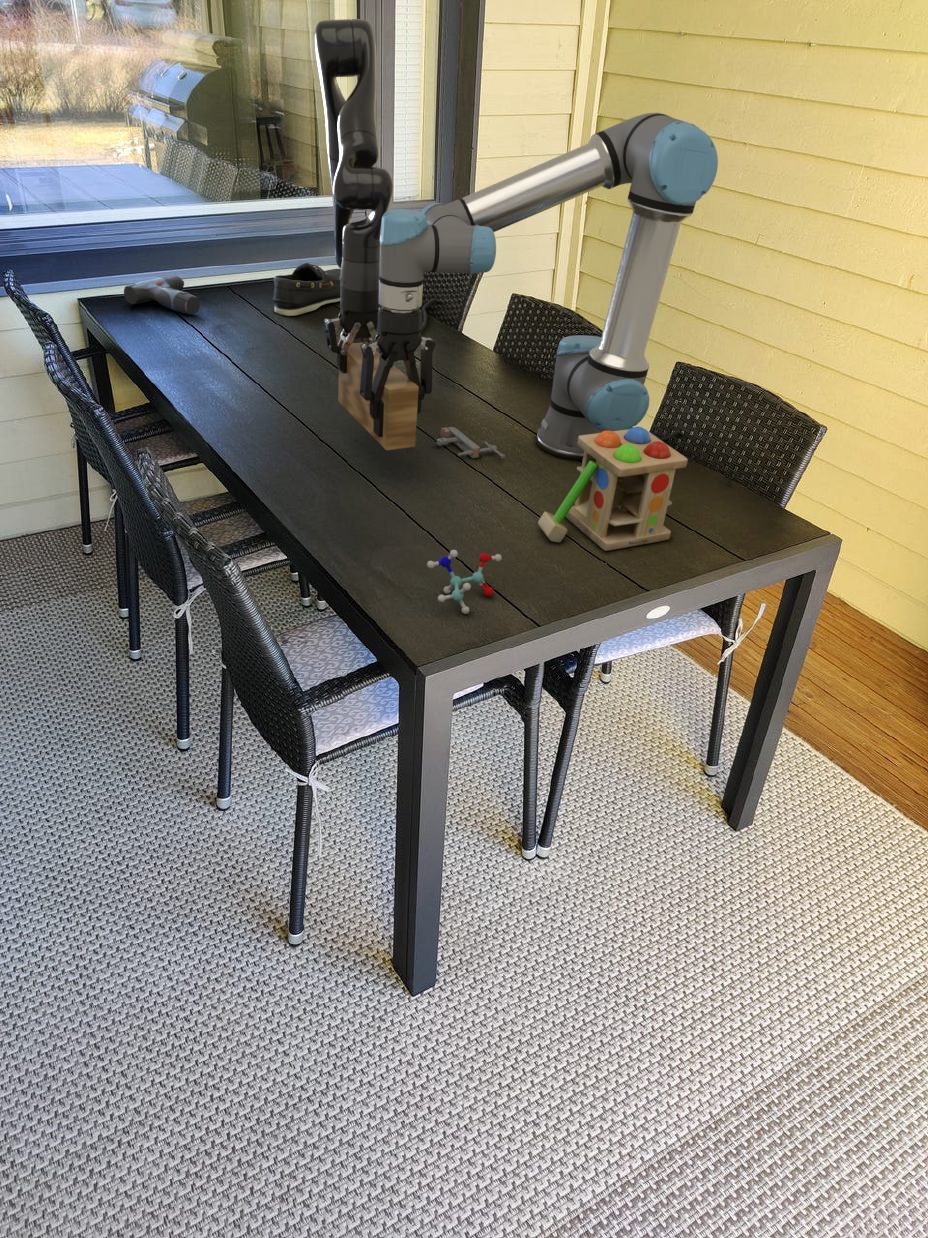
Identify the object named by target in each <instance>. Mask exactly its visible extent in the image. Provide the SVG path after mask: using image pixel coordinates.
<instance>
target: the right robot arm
mask: <svg viewBox="0 0 928 1238" xmlns="http://www.w3.org/2000/svg"><path fill="white" fill-rule="evenodd" d="M718 166H719V157H718V151H717V148H716V146H715V144H714V141H713V139H712V138H711V137H710V136H709V134H708V133H706V131H704V130H702V129H701V128H700V127H699V126H697V125H695V124H694V123H691V122H688V121H684V120H681V119H678V118H675V117H672V116H671V115H668V114H665V113H662V112H648V113H644V114H640V115H636V116H633V117H631V118H629V119H626V120H624V121H621V122H619V123H617V124H615V125H612V126H610V127H607V128H604V129H602V130H601V131H598V132H596V133H594V134H592V135H591V136H590V138H589V141H588V142H587V143H585V144H583V145H581V146H579V147H577V148H574V149H572V150H570V151H568V152H565V153H563V154H561V155H558V156H556V157H553V158H551V159H549V160H547V161H544V162H542V163H540V164H538V165H535V166H533V167H531V168H528V169H526V170H523V171H521V172H519V173H516V174H513V175H512V176H509V177H507V178H505V179H503V180H501V181H498V182H496V183H493V184H491V185H489V186H487V187H485V188H481V189H480V190H477V191H474V192H473V193H470V194H469V195H468V194H467V195H466V196H464V197H461V198H459V199H456V200H453V201H451V202H449V203H446V204H445V203H441V202H433V203H430V204H428V205H426V206H425V207H424V208H422V210H421V211H419V210H417V209H408V208H394V209H393V208H392V209H388V211H387V212H385V214H384V215H383V217H382V224H381V235H380V239H379V240H380V274H379V294H378V303H379V304H380V307H379V308H378V333H377V336H376V338H375V340H374V341H372V342H369V343H365V342H362V343H361V345H360V347H361V351H362V354H363V358H362V371H361V383H360V395H361V396H362V397H363V398H364V399H365V400H366V401H370V412H369V414H370V416H371V417H372V418H373V419H374V426H373V432H374V433H375V434H376V435H377V436H378V437H383V417H384V403H383V402H382V401H381V400H380V399H381V396H382V393H383V390H384V386H385V384H386V381H387V378H388V375H389V372H390V369H391V368H392V366H393V365H394V363H395V362H396V363H397V362H399V361H402V362H403V363H404V366H405V371H406V374H407V375H406V376H407V377H408V378H409V379H410V380H411V381H412V382H413V383H415V384H416V385H417V386H419V390H418V407H417V415H419V414H421V411H422V401H423V400H424V399H425V398H426V397H425V395H430V394H432V391H433V353H434V350H435V347H436V342H435V340H434V339H432V338H431V337H429V336H425V337H424V336H422V334H421V333H420V329H421V326H422V314H423V312H422V309H421V307H423V306H422V305H423V294H424V293H423V291H424V276H425V273H441V274H442V273H443V274H444V273H446V274H470V275H474V274H484V273H489V272H490V271H491V270H492V269H493V267H494V265H495V261H496V256H497V239H496V235H495V233H496V232H498V231H500V230H503V229H505V228H508V227H509V226H512V225H515V224H517V223H519V222H521V221H523V220H526V219H529V218H531V217H534V216H535V215H538V214H540V213H543V212H544V211H548V210H550V209H552V208H554V207H556V206H559V205H561V204H563V203H566V202H568V201H570V200H573V199H575V198H577V197H580V196H582V195H584V194H587V193H589V192H592V191H594V190H596V189H599V188H601V187H603V188H604V189H607V190H611V189H613V188H616V187H618V186H623V185H625V184H626V185H627V184H630V187H629V191H628V195H627V202H628V204H629V205H630V208H631V209H632V214H631V219H630V222H629V225H628V226H629V227H628V231H627V235H626V239H625V243H624V246H623V250H622V254H621V258H620V263H619V265H618V270H617V274H616V277H615V282H614V286H613V290H612V294H611V298H610V302H609V306H608V309H607V313H606V318H605V322H604V325H603V329H602V334H601V336H596V335H586V334H585V335H584V334H583V335H569V336H566V337H563V338H561V339H560V341H559V342H558V347H557V351H556V353H555V356H556V357H555V364H554V373H553V381H552V387H551V396H550V403H549V407H548V409H547V412H546V415H545V416H544V418H543V419H542V421H541V423H540V426H539V428H538V430H537V434H536V444H537V445H538V447H539V448H540V449H541V450H543V451H544V452H546V453H548V454H550V455H553V456H554V457H559V458H562V459H566V460H567V459H568V460H576V461H583V456H584V450H583V449H582V448H580V447H579V446H578V445H577V443H578V437H579V436H581V435H588V434H596V433H601V432H603V431H607V430H609V431H619V430H627V429H631V428H633V427H637V425H638V424H639V423H640V422H641V421H642V420H643V419H644V417H645V416H646V414H647V413H648V410H649V406H650V395H649V392H648V391H649V390H648V389H647V387H646V385H645V383H646V379H647V376H648V372H649V370H650V369H649V368H650V363H649V361H648V359H647V358H646V356H645V354H646V353H645V352H646V350H647V345H648V343H649V339H650V334H651V332H652V329H653V324H654V320H655V317H656V314H657V310H658V306H659V303H660V299H661V295H662V293H663V288H664V284H665V281H666V277H667V274H668V271H669V268H670V264H671V260H672V256H673V253H674V249H675V245H676V242H677V238H678V235H679V231H680V228H681V224H682V223H683V222H684V221H686V219H688V218H690V217H691V216H693V214H694V211H695V207H696V204H697V201H699V200H701V199H702V197H703V196H704V195H706V194H707V193H709V191H710V189H711V188H712V186H713V185H714V182H715V179H716V177H717V173H718V168H719V167H718ZM377 348H379V350H380V351H381V354H380V357H379V365H378V368H377V371H376V374H375V377H374V380H373V369H374V355H375V354H376V349H377ZM418 348H420V376H419V372H418V368H417V359H416V356H415V353H416V351H417V350H418ZM372 381H373V384H372ZM677 431H678V430H674V431H673V432H672V433H671V434H669V435H668V436H664V437H659V436H656V437H657V438H658V439H660V440H661V441H663V442H665V441H669V440H671V439H672V438H673V437H675V436H676V435H679V436H680V437H684V436H685V434H684V433H683V432H682V431H681V433H677Z"/></svg>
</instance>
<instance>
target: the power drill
mask: <svg viewBox="0 0 928 1238" xmlns="http://www.w3.org/2000/svg"><path fill="white" fill-rule="evenodd" d="M184 287H185V281H184V279H183V278H181V277H180V276H179V275H171V276H167V277H166V276H165V277H155V278H152V279H147V280H144V281H139V282H136V283H132V284H131V283H130V284H128V285H126V286H124V289H123V296H124V298H125V299H124V300H125V301H126V302H127V303H128V304H129V305H131V306H132V305H139V304H144V303H148V302H152V301H155V302H157V303H158V304H159V305H160V306H163V307H165V308H168V309H170V310H172V311H175V312H178V313H180V314H184V315H191V316H193V315H196V314H197V313H198V312H199V310H200V307H201V302H200V299H199V298H198V297H197V296H195V295H194V294H191V293H189V292H186V291H183V289H184Z"/></svg>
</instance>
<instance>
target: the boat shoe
mask: <svg viewBox="0 0 928 1238" xmlns="http://www.w3.org/2000/svg"><path fill="white" fill-rule="evenodd" d="M340 276H341V269H340V268H331V269H327V270H324V269H322V267H321V266H318V265H316V264H312V263H308V262H304V263H302V264H300V265H298V266H297V267H296V268H295V269H294V270H293V271H292V273H291V274H290V273H289V274H283V275H281V274H279V275H275V276H274V277H273V280H272V281H273V283H274V291H273V297H272V301H273V302H274V307H273V308H274V312H275V313H276V314H278V315H281V316H288V317H292V316H299V315H303V314H306V313H309V312H312V311H316V310H317V309H319V308H320V307H321V306H323V305H326V304H331V303H337V302H340V289H341V282H340Z"/></svg>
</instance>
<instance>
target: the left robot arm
mask: <svg viewBox="0 0 928 1238" xmlns="http://www.w3.org/2000/svg"><path fill="white" fill-rule="evenodd" d="M314 51H315V57H316V64H317V72H318V77H319V83H320V91H321V97H322V103H323V111H324V112H323V113H324V121H325V122H324V124H325V141H326V153H327V163H328V173H329V179H330V189H331V195H332V196H331V197H332V208H333V242H334V243H333V244H334V257H335V261H336V265H337V267H338V269H341V276H340V282H341V289H340V301H339V302H340V303H339V306H340V309H339V310H340V311H339V314H338V316H337V317H336V318H332V319H330V318H329V317H326V318H324V320H323V326H324V331H325V339H326V345H327V348H328V349H329V350H330V352H332V353H334V354H336V368H337V369H338V371H339V370H340V371H341V372H342V373H343V374H344V373H347V355H346V353H347V351H348V349H349V346H350V345H352V343H362V342H367V343H369V342H372V341H374V340H375V338H376V336H377V333H378V308H379V307H380V304H379V303H378V294H379V274H380V240H379V239H380V235H381V224H382V217H383V215H384V214H385V212H387V211H389V209H390V205H391V202H392V199H393V195H394V181H393V178H392V176H391V174H390V172H389V171H388V170H387V169H386V168H383V167H376V166H375V165H376V163H377V162H378V160H379V155H380V149H379V148H380V147H379V138H378V131H377V120H376V119H377V117H376V102H377V47H376V37H375V32H374V28H373V26H372V24H371V23H370V21H368V20H367V19H363V18H351V19H350V18H347V19H346V18H345V19H325V20H320V21H318V23H316V26H315V28H314ZM351 77H352V78H353V77H358V80H357V82H356V84H355V86H354V88H353V89H352V91H351V93H350V94H349V95H348V97H347V99H345V97H344V95H343V93H342V90H341V88H340V86H339V83H338V80H337V78H351ZM354 211H370V213H369V215H368V216H367V217H366V218H364V219H362V220H358V221H353V222H352V216H353V214H354ZM437 299H438V298H437V297H435V298H431V299H429V300H428V301H427V302H425V304H424V305H423V306H421V307H422V308H421V311H422V314H423V323H421V329H420V334H421V333H423V331H424V330H425V328H426V327H427V324H428V314H427V311H426V309H427V308H428V307H429V306H430V305H432V304H433V303H436V304H438V305H440V304H441V301H440V300H439V301H437ZM436 301H437V302H436ZM339 326H340V336H339V341H337V333H336V332H338V329H339ZM376 351H378V352H379V353H380V354H381V351H380V350H379V348H377V349H376Z"/></svg>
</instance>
